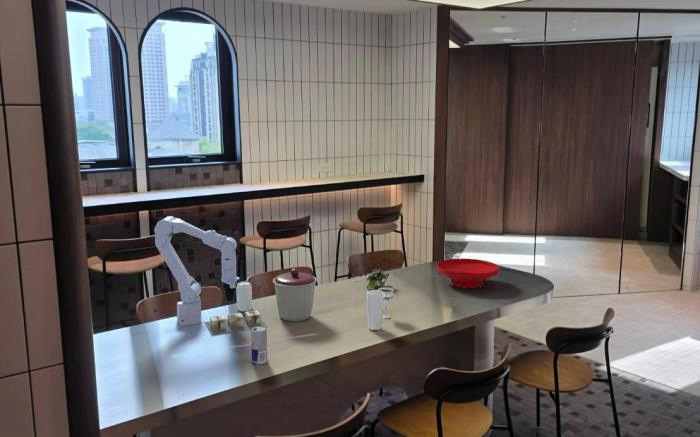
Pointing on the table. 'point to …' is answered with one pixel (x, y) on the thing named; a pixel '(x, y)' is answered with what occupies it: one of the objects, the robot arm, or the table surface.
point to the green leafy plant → (377, 278)
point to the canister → (294, 295)
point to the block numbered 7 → (252, 317)
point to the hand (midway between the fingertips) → (229, 300)
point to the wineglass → (387, 297)
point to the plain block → (235, 320)
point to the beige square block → (217, 322)
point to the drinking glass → (374, 308)
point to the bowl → (467, 271)
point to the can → (244, 296)
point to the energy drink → (259, 345)
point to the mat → (232, 330)
